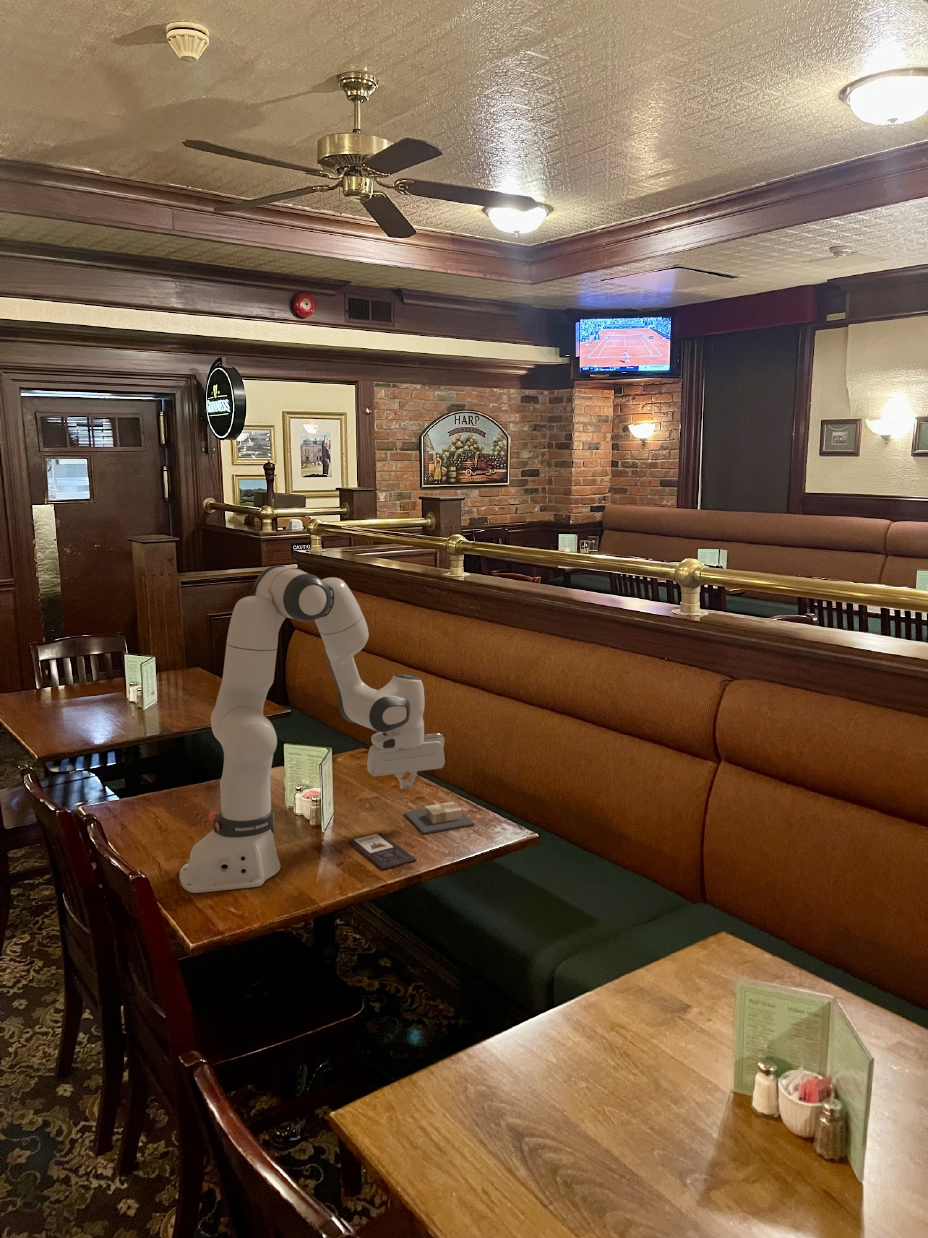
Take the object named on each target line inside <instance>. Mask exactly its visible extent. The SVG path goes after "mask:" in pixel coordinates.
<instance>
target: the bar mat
mask: <svg viewBox="0 0 928 1238" xmlns="http://www.w3.org/2000/svg"><path fill="white" fill-rule="evenodd" d="M404 815H405V817H406V818H407V819H408V820H409V821H410V822H411V823H412V825H414V826H415V828H416V829H418V830H419V831H420V832H421V833H422V834H423V835H428V834H434V833H440V832H445V831H450V830H457V829H462V828H468V827H473V826H475V822H474V821H472V820H471V819H470V818H469V816H467V815H465V814H464V812H462V819H457V820H452V821H446V822H440V823H435V824H433V823H432V822H431V821H430V820H429V819H428V818H427V817H426V816H425V808H422V809H418V810H417V809H415V810H410V811H405V812H404Z"/></svg>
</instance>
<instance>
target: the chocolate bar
mask: <svg viewBox="0 0 928 1238" xmlns="http://www.w3.org/2000/svg"><path fill="white" fill-rule="evenodd" d="M348 843H349V844H350V845H351V844H352V845H353V846H354V847H356V848H357V849H358V850H359V851H360V852H359V851H358V850H357V849H356V848H355V849H356V850H357V851H358V852H359V853H360V854H362V853H363V854H364V855H365V856H366V857H365V856H364V855H363V854H362V855H363V856H364V857H365V858H367V857H368V858H369V859H370V860H371V861H370V860H369V859H368V858H367V859H368V860H369V861H370V862H371V863H372V864H374V863H375V864H376V865H377V866H376V865H375V864H374V865H375V866H376V867H378V866H379V867H378V868H379V869H380V868H381V869H382V870H384V871H387V869H388V870H391V869H394V867H395V868H397V867H396V866H399V867H401V866H400V865H402V866H404V865H403V864H406V863H409V864H411V863H410V862H413V863H416V862H415V861H417V862H418V859H417V858H415V857H414V856H413V855H412V854H410V853H409V852H408V851H406V850H405V849H403V848H402V847H401V846H400V845H398V844H397V843H395V841H393V840H392V839H390V838H389V837H388V836H387V835H385V834H384V833H382V832H380V833H375V834H370V835H367V836H362V837H359V838H358V837H357V838H354V839H351V840H348ZM352 845H351V846H352ZM353 846H352V847H353ZM354 847H353V848H354ZM406 865H407V864H406ZM390 868H391V869H390ZM381 869H380V870H381ZM382 870H381V871H382Z"/></svg>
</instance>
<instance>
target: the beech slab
mask: <svg viewBox="0 0 928 1238" xmlns="http://www.w3.org/2000/svg"><path fill="white" fill-rule="evenodd" d="M424 809H425V816H426V817H427V818H428V819H429V820H430V821H431V822H432V823H433V824H435V823H440V822H446V821H452V820H457V819H462V813H463V809H462V808H461V807H459V806H458V805H457V804H456V803H455V802H454V801H450V802H449V801H447V802H442V803H437V804H431V805H425V806H424Z"/></svg>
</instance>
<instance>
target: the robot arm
mask: <svg viewBox="0 0 928 1238" xmlns="http://www.w3.org/2000/svg"><path fill="white" fill-rule="evenodd" d="M249 594H250V596H249V595H248V596H244V597H242V598H240V599H238V601H237V602H236V603H235V605H234V608H233V610H232V614H231V617H230V622H229V626H228V631H227V638H226V644H225V652H224V653H225V654H224V664H223V665H224V666H223V672H222V673H223V674H222V678H221V684H220V686H219V690H218V693H217V698H216V701H215V705H214V708H213V710H212V712H211V714H210V715H211V716H210V727H211V731H212V734H213V736H214V737H215V739H216V740H217V741H218V742H219V743H220V745H221V747H222V750H223V768H222V773H221V774H222V775H221V778H220V781H219V786H220V790H219V792H220V805H221V806H220V807H221V809H220V810H221V811H220V812H219V813H216V811H211V812H209V814H208V816H207V817H208V820H209V822H210V823H212V830H211V831H210V832H209V833H207V834H206V835H205V836H204V837H203V838H202V839H200V840H199V841H198V842H196V843H195V844H194V845H193V847H192V849H191V850H190V855H189V860H188V863H185V864H183V866H182V867H181V868H180V870H179V875H178V879H179V882H180V885H181V887H182V888H183V889H184V890H185V891H186V892H189V893H193V894H198V893H208V892H218V891H228V890H237V889H249V888H257V887H260V886H262V885H263V884H264V883H265V881H267V880H268V879H270V878H272V877H273V876H275V875H276V874H278V872H279V871H280V869H281V865H282V864H281V861H280V858H279V856H278V852H277V848H276V844H275V838H274V837H275V836H274V833H275V814H274V809H273V807H272V800H271V795H272V794H271V773H272V772H271V771H272V765H273V759H274V754H275V752H276V749H277V745H278V738H277V737H278V736H277V733H276V730H275V728H274V726H273V723H272V721H270V720H269V719H268V718H267V717H266V716H265V715H264V706H265V702H266V699H267V696H268V692H269V690H270V688H271V687H272V685H273V684H274V680H275V670H276V661H277V652H278V642H279V632H280V630H281V629H280V628H281V627H282V624H283V623H284V621H285V619H287V618H288V619H292V620H296V621H298V622H311V621H314V622H315V625H316V627H317V630H318V633H319V634H320V637H321V640H322V642H323V644H324V651H325V655H326V658H327V663H328V665H329V668H330V671H331V675H332V677H333V680H334V683H335V686H336V689H337V697H338V699H337V700H338V709H339V710H338V711H339V713H340V714H341V716H342V718H343V719H344V720H346V721H347V722H349V723H352V724H357V725H360V726H362V727H365V728H368V729H371V730H373V731H374V732H376V733H374V734H372V735H371V736H370V737H371V738H370V739H371V743H372V745H371V746H370V747H369V748H368V752H367V753H368V754H367V764H366V767H367V768H366V769H367V772H368V773H369V774H370V775H371V776H372V777H379V776H381V777H382V776H388V775H395V777H396V778H397V779H398V781H399V788H400V789H401V790H404V789H413V787H414V786H413V782H414V781H415V779H416V777H417V775H418V772H421V771H431V770H436V769H442V768H443V767H445V766H444V765H445V764H446V763H445V759H446V758H445V752H444V747H445V736H443V735H442V734H440V733H438V732H436V733H435V732H433V733H425V722H424V712H425V702H426V701H425V688H424V684H423V681H422V679H421V678H419V677H417V676H415V675H411V674H406V673H396V674H393V675H392V678H391V679H390V681H389V682H387V684H386V685H384V686H382V688H381V687H380V688H379V689H375V688H372V687H370V686H369V685H368V684H366V683H365V682H364V681H363V680H362V679H361V676H360V673H359V671H358V667H357V665H356V662H355V658H354V656H355V655H356V654H358V653H359V652H360V651H362V650H363V648H364V647H365V646H366V645H367V642H368V640H369V636H370V634H369V628H368V624H367V621H366V619H365V616H364V614H363V611H362V609H361V606H360V605H359V603H358V601H357V599H356V597H355V595H354V594H353V592H352V590H351V589H350V587H349V586H348V584H347V583H346V582H345V581H344V580H343V579H341V578H338V577H333V576H332V577H331V576H330V577H326V578H323V579H321V578H320V577H318V576H316V575H314V574H311V573H308V572H305V571H304V570H302V569H299V568H297V567H296V568H295V567H290V566H285V565H272V566H269V567H267V568H265V569H264V570H262V571H261V572H260V574H259V575H258V576H257V579H255V582H254V586H253V587H252V589H251V590H250V593H249ZM406 773H409V774H410V775H409V777H408V778H407V779H403V777H404V774H406Z"/></svg>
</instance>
